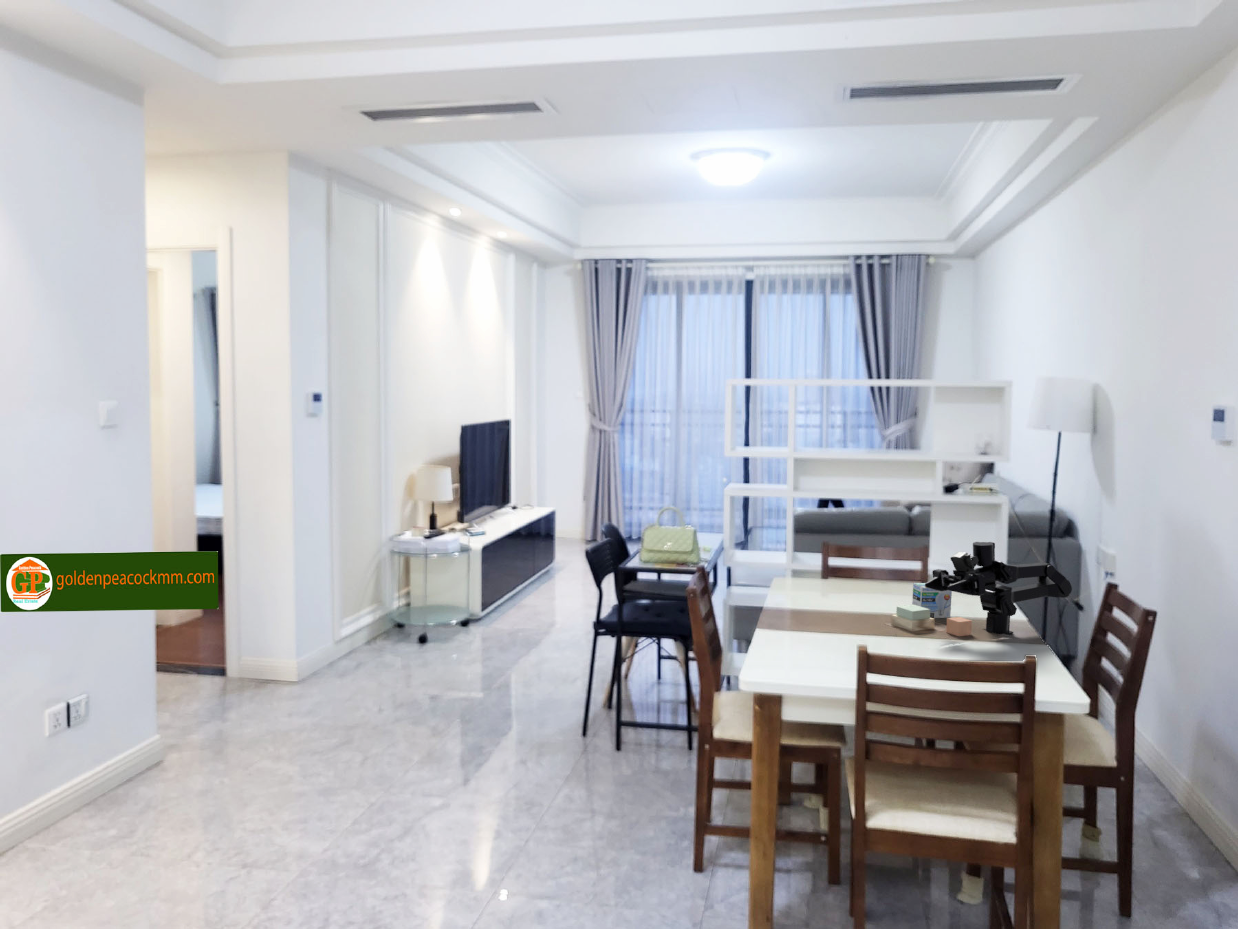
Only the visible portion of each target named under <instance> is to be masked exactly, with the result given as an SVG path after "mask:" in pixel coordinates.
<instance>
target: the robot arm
mask: <svg viewBox="0 0 1238 929" xmlns="http://www.w3.org/2000/svg"><path fill="white" fill-rule="evenodd" d="M995 549H996V543H995V542H992V541H987V542H986V541H981V542H980V541H975V542H972V554H971V553H968V552H964V551H962V552H961V551H958V552H956V553H955V554H953V555H952V556H951V557H950V561H951V563H952V565H953V567H954V569H953V570H952V574H950V573H949V571H947V569H942V568H941V569H940V568H938V569H937V568H936V569H933V570H932V572H931V573H932V578H931V579H930V580H927V582H924V583H925V587H927V588H930V589H934V590H937V591H947V590H949V591H952V592H955V593H959V594H963V595H967V596H968V595H969V596H976V597H979V600H980V604H981V608H982V611H986V613H987V616H986V620H985V623H986V624H985V628H982V631H986V632H989V633H992V634H996V635H1002V634H1004V635H1010V634H1014V631H1011V630H1010V624H1011V617H1013V616H1016V614H1017V613H1016V612H1017V610H1018V607H1017V606H1016V605H1015V603H1020V602H1025V601H1031V600H1035V599H1042V598H1046V597H1050V598H1057V599H1058V598H1059V599H1066V598H1068V597H1070V594H1072V590H1073V587H1072V584H1071V582H1070V580H1068V579H1067V577H1066V576H1064V575H1063V574H1062V573H1061V572H1060V571H1058V570H1057V568H1055V566H1054V565H1053V564H1051V563H1047V562H1042V561H1039V562H1035V563H1034V562H1032V563H1021V564H1007V563H1004V562H1003V561H999V560H996V559H995V558H996V556H995V555H996V554H995V551H996V550H995ZM971 555H972V556H971ZM976 566H977V567H976ZM1025 578H1026V579H1027V578H1036V580H1037V583H1032V584H1026V585H1020V586H1016V587H1012V586H1011V587H1010V586H1007V585H1009V584H1012V583H1016V582H1017V581H1018V580H1019V579H1025ZM996 582H997V583H996ZM999 583H1000V584H999Z"/></svg>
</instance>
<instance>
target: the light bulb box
mask: <svg viewBox="0 0 1238 929" xmlns="http://www.w3.org/2000/svg"><path fill="white" fill-rule="evenodd" d="M925 583H926V582H923V583H922V582H919V583H917V582H916V583H915V582H914V583H913V585H912V599H911V600H912V602H911V603H912V604H911V605H917V606H920V607H924V608H927V609H930V618H934V619H947V618H951V614H952V613H951V610H952V592H953V591H949V590H947V591H937V590H934V589H930V588H927V587H925Z"/></svg>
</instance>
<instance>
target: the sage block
mask: <svg viewBox="0 0 1238 929" xmlns="http://www.w3.org/2000/svg"><path fill="white" fill-rule="evenodd" d="M895 615H897V616H900V617H903V618H906V619H909V620H921V619H929V618H930V609H927V608H924V607H920V606H917V605H912V604H908V605H898V606H897V605H896V613H895Z"/></svg>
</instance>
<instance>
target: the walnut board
mask: <svg viewBox="0 0 1238 929" xmlns="http://www.w3.org/2000/svg"><path fill="white" fill-rule="evenodd" d="M885 625H886V626H889V627H892V628H895V629H898V630H901V631H904V632H906V633H909V634H913V635H916V636H918V635H922V634H923V635H924V634H932V633H939V632H946V627H947V624H944V623H939V622H936V621H935V622H934V629H926V630H918V631H909V630H906V629H903V628H900V627H897V626H894V625H891V622H888V623H885Z"/></svg>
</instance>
